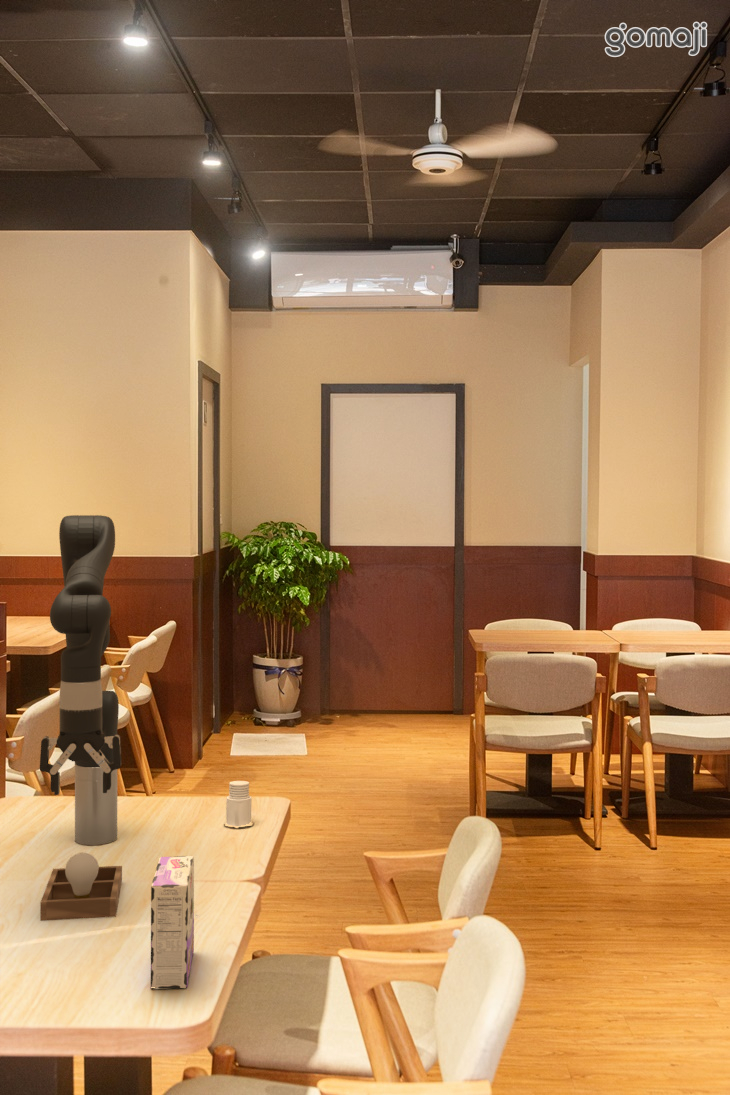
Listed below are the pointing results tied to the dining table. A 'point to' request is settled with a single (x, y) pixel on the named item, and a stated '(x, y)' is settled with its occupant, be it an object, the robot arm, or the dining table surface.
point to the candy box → (172, 922)
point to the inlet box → (99, 904)
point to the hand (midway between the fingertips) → (81, 793)
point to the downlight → (238, 804)
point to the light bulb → (81, 873)
